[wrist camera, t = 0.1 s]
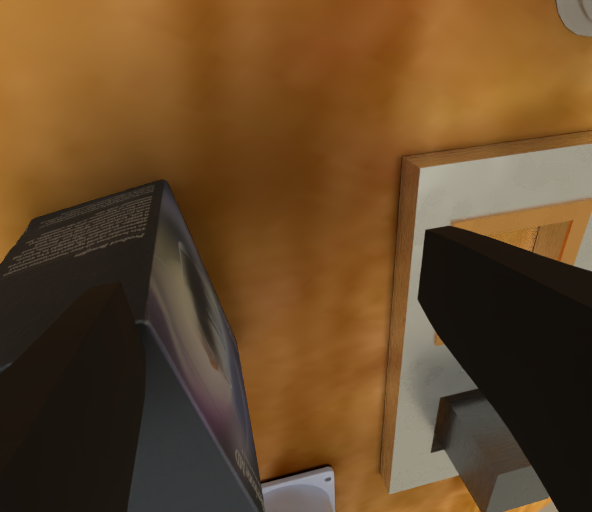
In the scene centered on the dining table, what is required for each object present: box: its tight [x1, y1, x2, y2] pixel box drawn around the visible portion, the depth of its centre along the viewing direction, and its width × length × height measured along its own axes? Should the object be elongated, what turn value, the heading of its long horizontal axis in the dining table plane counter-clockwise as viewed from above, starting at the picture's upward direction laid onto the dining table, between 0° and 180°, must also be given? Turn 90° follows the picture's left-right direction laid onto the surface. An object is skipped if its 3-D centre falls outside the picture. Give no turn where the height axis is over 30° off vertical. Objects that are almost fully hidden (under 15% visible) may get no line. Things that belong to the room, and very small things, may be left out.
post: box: [434, 389, 549, 512], centre depth 27 cm, size 4×4×7 cm
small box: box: [0, 180, 265, 512], centre depth 16 cm, size 11×6×10 cm, turn 14°
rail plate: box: [380, 131, 592, 494], centre depth 26 cm, size 26×12×2 cm, turn 4°
